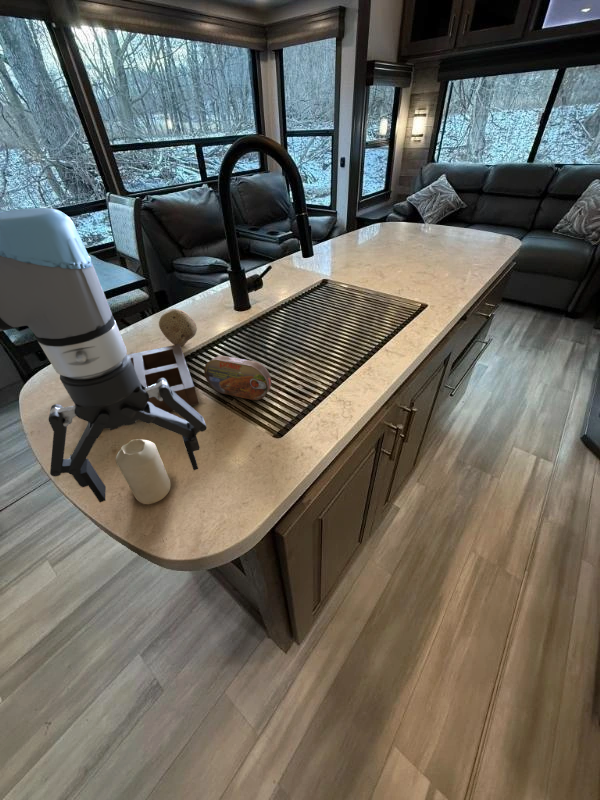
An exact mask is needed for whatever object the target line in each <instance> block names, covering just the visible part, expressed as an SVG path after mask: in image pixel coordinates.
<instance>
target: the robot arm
mask: <svg viewBox="0 0 600 800" xmlns="http://www.w3.org/2000/svg"><path fill="white" fill-rule="evenodd" d="M20 327H28V328H29V330H30V331H31V332H32V333H33V335H34V337H35V339H36V341H37V342H38V344H39V346H40V347H41V349H42V350H43V353H44V354H45V356H46V357H47V360H48V361H49V363H50V364H51V366H52V368H53V369H54V371H55V372H56V374H58V375H59V380H60V382H61V384H62V386H63V387H64V389H65V391H66V392H67V394H68V395H69V398H70V399H71V401H72V402H73V403H74V405H70V406H65V407H64V406H63V405H61V404H59V403H54V404H53V405H51V407H50V409H49V414H48V419H47V420H48V424H49V425H50V427H51V429H52V431H53V434H52V436H53V437H52V447H51V457H50V458H51V459H50V468H49V469H50V470H49V474H50V476H51V477H59V476H61V475H62V474H69V475H71V476H72V477H73V478H74V480H75V481H76V483H77V484H78V486H80V488H86V487H89V489H90V490H91V492H92V494H93V495H94V496H95V498H96V499H97V501H98V502H99V503H102V502H106V497H107V496H106V493H107V490H106V488H107V485H105V483H104V482H103V480H102V479H101V477H100V475H99V474H98V472H97V471H96V469H95V468H94V466H93V465H92V463H91V461H90V460H89V459H88V455H90V452H91V451H92V448H93V447H94V445H95V443H96V441H97V439H99V438H100V436H101V434H102V432H103V430H110V431H113V430H117V429H119V428H121V427H124V426H131V425H135V424H137V422H138V421H140V422H142V423H145V424H148V425H150V424H152V425H155V426H158V427H159V428H162V429H165V430H167V431H170V432H171V433H174V434H177V435H179V436H181V437H182V441H183V444H184V447H185V450H186V454H187V456H188V459H189V461H190V464H191V467H192V470H193V471H197V470H199V466H198V462H197V459H196V455H195V452H197V451H200V448H201V447H200V444H199V440H198V437H197V435H198V433H200V432H201V433H202V432H206V430H207V429H208V427H207V423H206V421H205V418H204V416H203V415H202V414H200V413H199V412H198V411H197V410H196V409H195V408H194V407H192V405H191V406H190V405H189V404H188V403H186V402H185V401H184V400H183V399H182V398H180V397H179V396H178V395H177V394H176V393H175V392H173V391H172V390H171V388H170V386H169V384H168V382H167V380H166V379H165V378H160V379H158V381H157V384H154V385H152V386H149V387H144V386H143V385H142V384H141V383H140V381H139V379H138V376H137V374H136V371H135V369H134V366H133V364H132V361H131V359H130V357H129V356H128V355H129V354H127V353H128V350H127V347H126V345H125V342H124V339H123V337H122V334H121V332H120V329H119V326H118V324H117V322H116V319H115V318H114V316H113V313H112V310H111V307H110V305H109V303H108V299H107V297H106V294H105V292H104V290H103V287H102V284H101V281H100V279H99V277H98V274H97V271H96V269H95V266H94V264H93V260H92V258H91V256H89V253H88V251H87V249H86V247H85V244H84V242H83V240H82V238H81V235H80V234H79V232H78V230H77V226H76V225H75V223H74V221H73V220H72V219H71V218H70V217H69V216H68V215H67V214H65V213H64V212H62V211H61V210H59V209H55V208H50V207H49V208H48V207H33V208H32V207H31V208H30V207H29V208H19V209H18V208H17V209H10V210H4V211H0V332H4V331H8V330H13V329H14V330H15V329H17V328H20ZM149 397H155V398H156V399H158V400H159V401H163V400H164V402H165V403H166V404H167V405H168V406H169V407H170V408H171V409H172V410H173V411H174V413H176V414H177V415H179V416H177V415H175V414H173V413H170V412H166V411H164V410H162V409H159V408H157V407H155V406H154V405H153V404H152V403H150V402H148V400H149ZM75 417H77V418H78V419H80V420H83V421H85V422H87V424H86V426H85V428H84V430H83V432H82V434H81V435H80V437H79V439H78V442H77V444H76V446H75V447H74V448H73V451H72V453H71V454H69V458H65V450H66V449H65V448H66V440H67V430H68V426H69V425H71V424H73V419H74V418H75Z"/></svg>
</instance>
